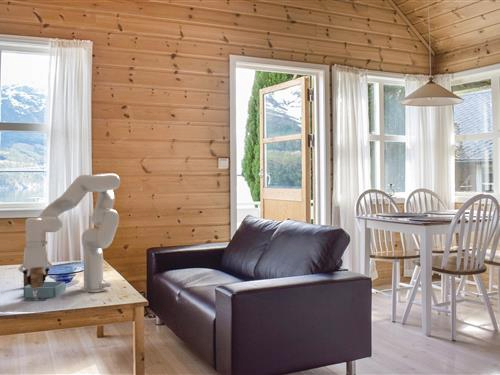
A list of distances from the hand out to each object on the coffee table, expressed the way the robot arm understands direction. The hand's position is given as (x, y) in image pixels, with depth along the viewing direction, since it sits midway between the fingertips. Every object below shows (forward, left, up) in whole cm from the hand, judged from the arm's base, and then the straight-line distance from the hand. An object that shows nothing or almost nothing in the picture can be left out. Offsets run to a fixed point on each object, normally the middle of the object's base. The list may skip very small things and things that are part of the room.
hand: (36, 283), depth 235 cm
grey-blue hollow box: (0, +1, -9) cm, 8 cm away
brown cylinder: (0, 0, -2) cm, 2 cm away
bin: (0, -10, -9) cm, 14 cm away
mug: (+13, -29, -9) cm, 33 cm away
